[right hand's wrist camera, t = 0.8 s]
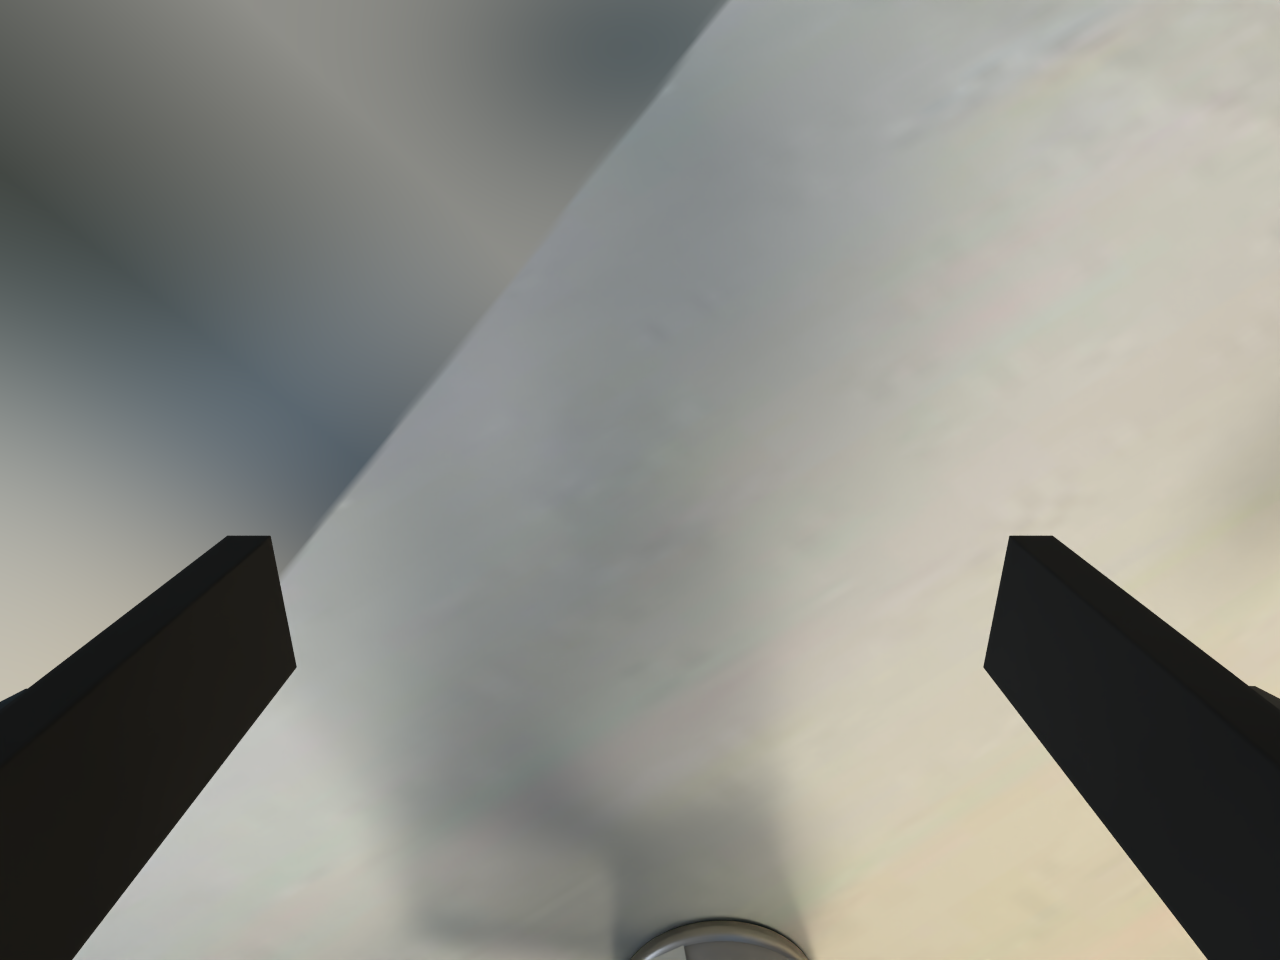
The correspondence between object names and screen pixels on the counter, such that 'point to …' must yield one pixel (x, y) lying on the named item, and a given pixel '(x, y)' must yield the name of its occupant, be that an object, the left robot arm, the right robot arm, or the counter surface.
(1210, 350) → the counter surface
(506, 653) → the counter surface
